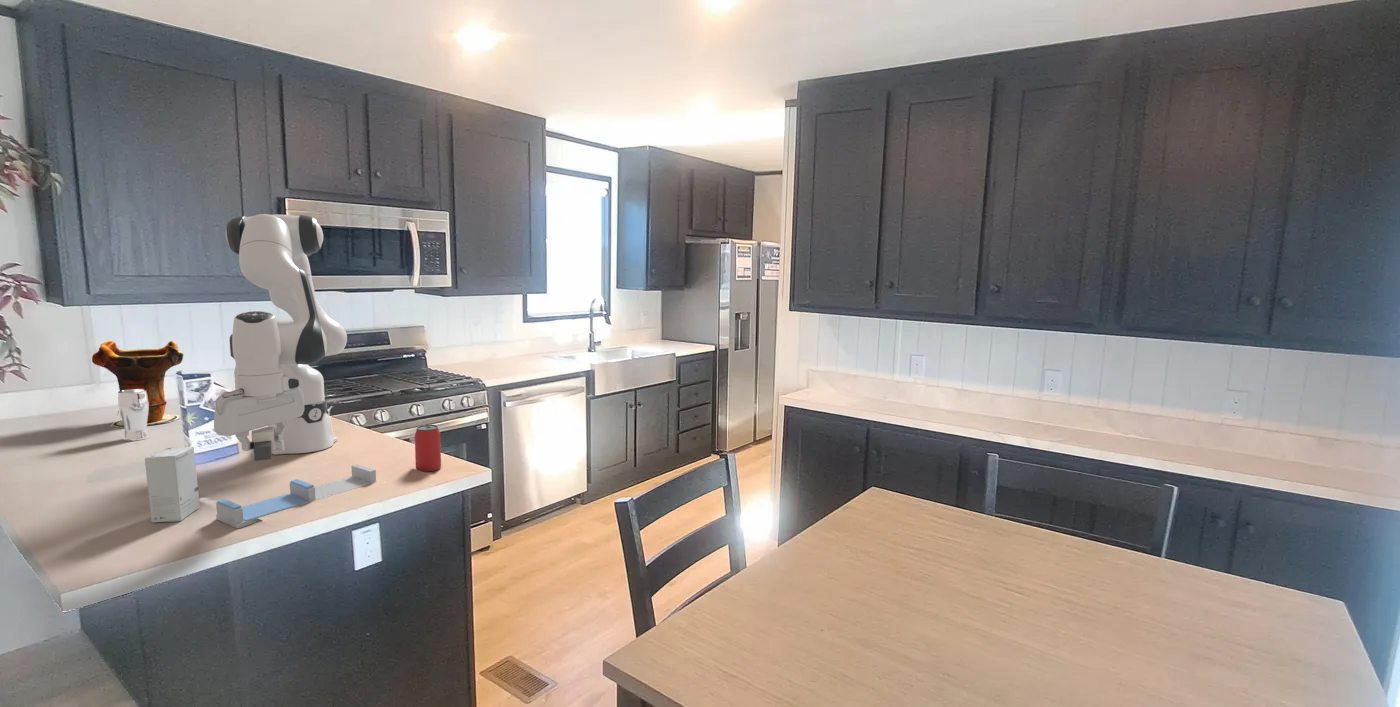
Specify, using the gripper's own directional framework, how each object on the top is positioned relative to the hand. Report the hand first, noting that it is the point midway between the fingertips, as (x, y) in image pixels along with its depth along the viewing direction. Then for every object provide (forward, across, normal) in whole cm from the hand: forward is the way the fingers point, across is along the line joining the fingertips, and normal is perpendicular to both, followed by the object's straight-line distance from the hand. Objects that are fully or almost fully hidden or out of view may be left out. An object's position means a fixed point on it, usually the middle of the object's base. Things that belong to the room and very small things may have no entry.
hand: (263, 445), depth 146 cm
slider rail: (+16, +8, -2) cm, 18 cm away
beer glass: (+16, +34, +85) cm, 93 cm away
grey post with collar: (+2, 0, 0) cm, 2 cm away
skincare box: (+16, -8, +17) cm, 25 cm away
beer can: (+16, +37, -16) cm, 43 cm away
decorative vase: (+16, +50, +103) cm, 115 cm away
